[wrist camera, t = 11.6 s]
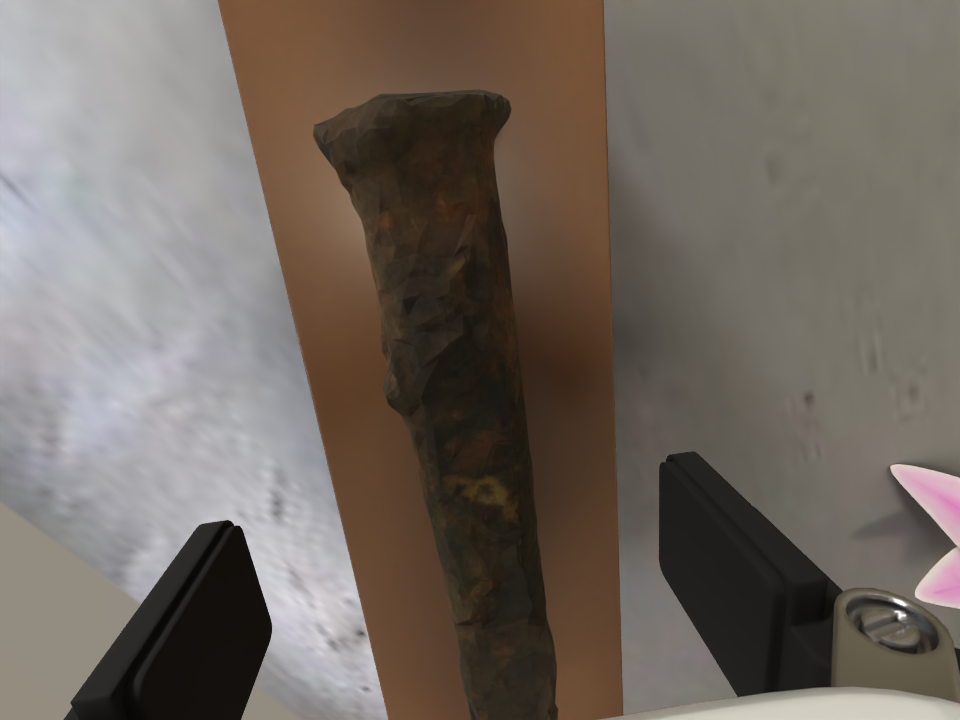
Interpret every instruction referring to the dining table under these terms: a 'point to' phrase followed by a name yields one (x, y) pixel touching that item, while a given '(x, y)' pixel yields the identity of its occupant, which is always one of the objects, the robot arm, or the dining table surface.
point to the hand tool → (456, 371)
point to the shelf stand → (536, 297)
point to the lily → (954, 511)
